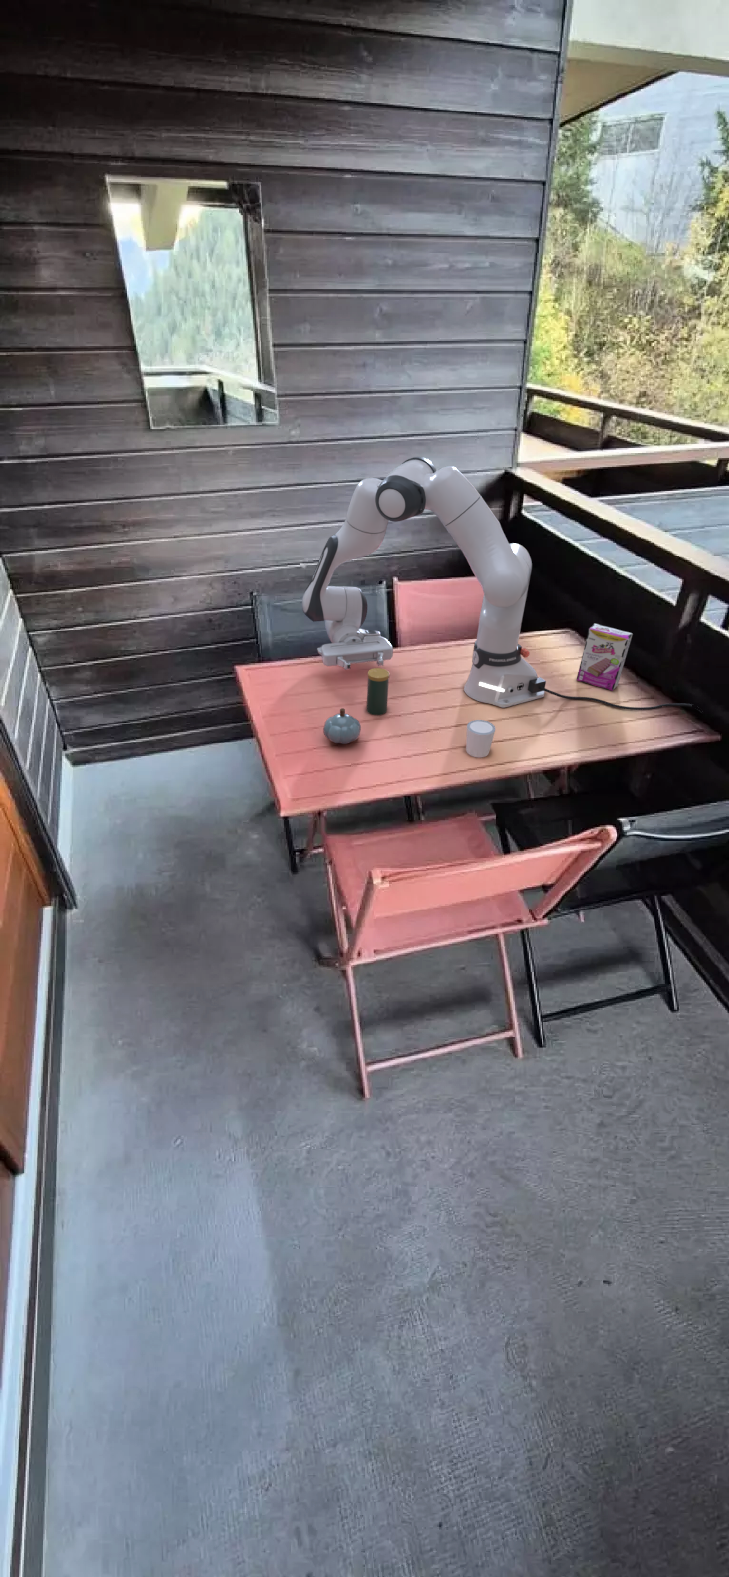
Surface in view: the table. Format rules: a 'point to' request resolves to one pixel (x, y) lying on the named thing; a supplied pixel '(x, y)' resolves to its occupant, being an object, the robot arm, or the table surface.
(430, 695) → the table surface
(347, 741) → the pumpkin
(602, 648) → the candy bar box
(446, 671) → the table surface
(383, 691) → the tea tin
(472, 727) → the white cup
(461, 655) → the table surface
